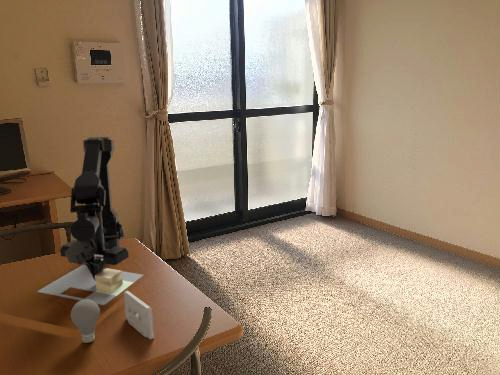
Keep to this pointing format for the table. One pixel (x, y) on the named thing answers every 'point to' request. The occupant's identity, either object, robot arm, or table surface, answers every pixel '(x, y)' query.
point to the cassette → (139, 315)
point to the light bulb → (85, 318)
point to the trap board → (87, 285)
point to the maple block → (108, 280)
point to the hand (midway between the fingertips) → (97, 280)
